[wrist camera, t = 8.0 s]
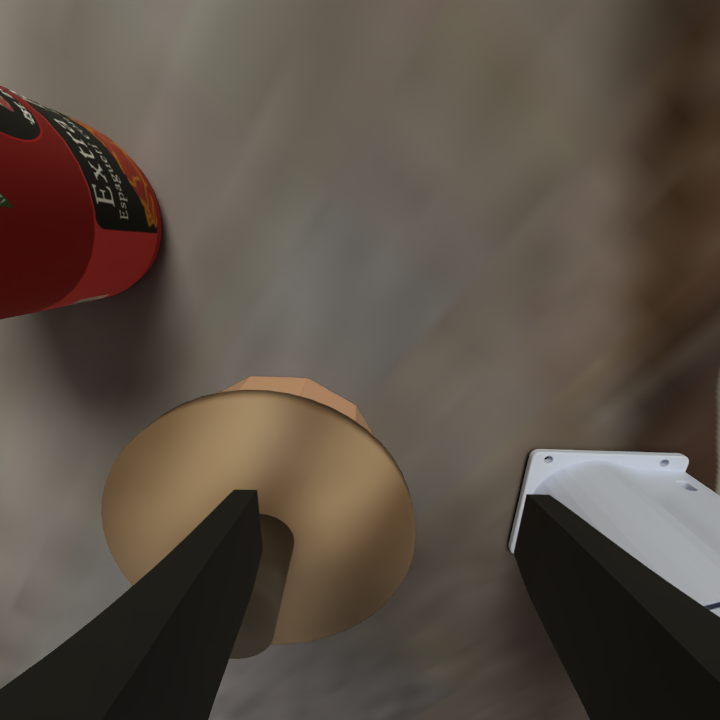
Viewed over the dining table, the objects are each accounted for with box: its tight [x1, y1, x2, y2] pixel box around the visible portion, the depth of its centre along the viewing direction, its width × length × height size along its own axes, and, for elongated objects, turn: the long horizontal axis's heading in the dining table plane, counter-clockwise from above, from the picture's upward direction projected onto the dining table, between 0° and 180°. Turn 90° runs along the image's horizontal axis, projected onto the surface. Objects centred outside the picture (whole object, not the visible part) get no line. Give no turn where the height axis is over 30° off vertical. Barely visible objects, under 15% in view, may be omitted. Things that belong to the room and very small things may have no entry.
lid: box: [101, 390, 416, 659], centre depth 15 cm, size 15×15×5 cm
